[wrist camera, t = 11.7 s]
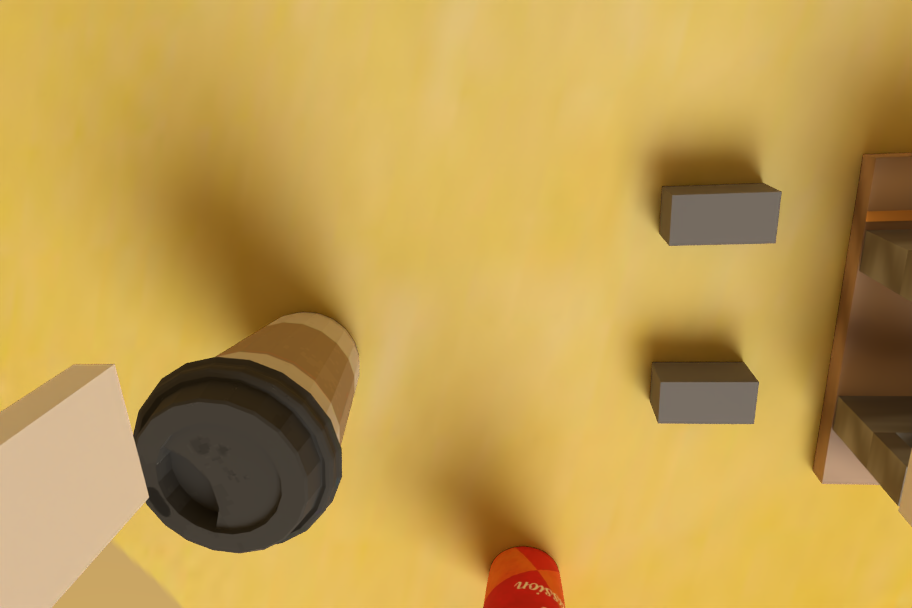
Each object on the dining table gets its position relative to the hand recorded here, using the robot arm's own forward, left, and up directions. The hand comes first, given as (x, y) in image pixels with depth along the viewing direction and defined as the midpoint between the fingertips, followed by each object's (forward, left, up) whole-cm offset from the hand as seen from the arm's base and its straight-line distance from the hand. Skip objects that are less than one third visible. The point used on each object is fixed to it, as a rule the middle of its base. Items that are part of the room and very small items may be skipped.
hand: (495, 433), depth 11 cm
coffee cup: (+13, -15, -32) cm, 38 cm away
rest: (+9, +12, -32) cm, 35 cm away
